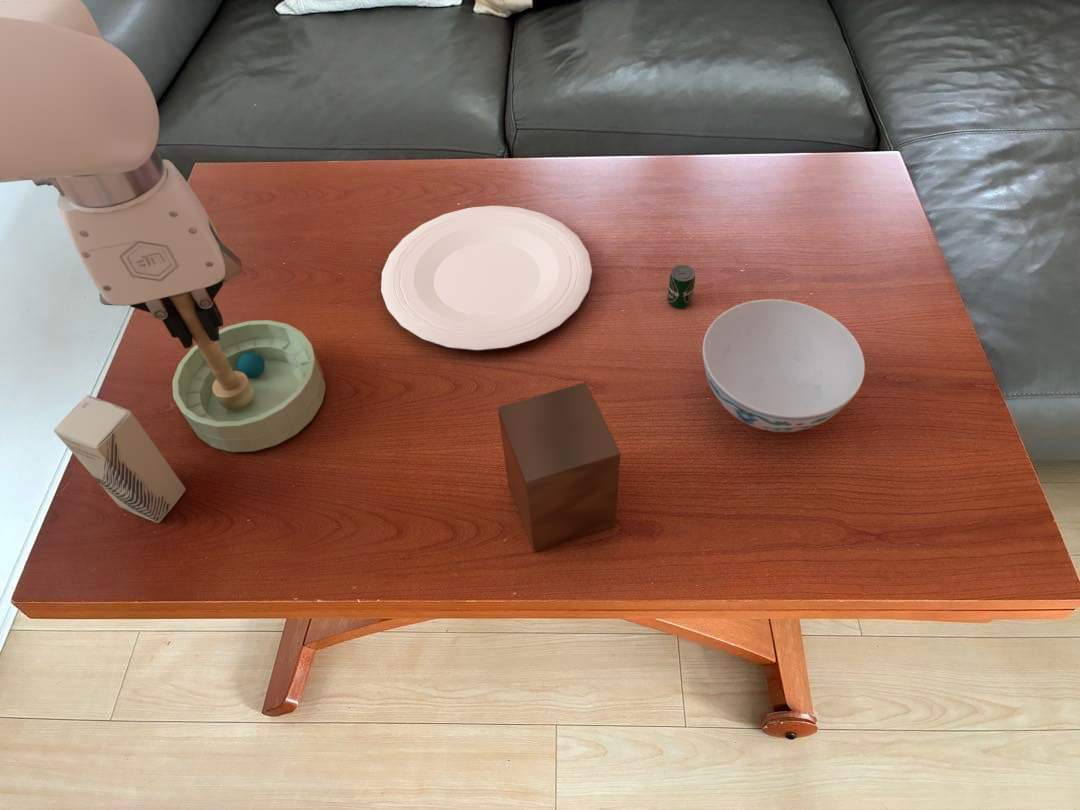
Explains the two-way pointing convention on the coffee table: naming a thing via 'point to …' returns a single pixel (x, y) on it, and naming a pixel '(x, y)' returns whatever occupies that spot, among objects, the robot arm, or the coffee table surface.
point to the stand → (560, 465)
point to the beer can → (681, 286)
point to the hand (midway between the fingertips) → (201, 333)
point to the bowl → (279, 391)
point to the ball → (250, 364)
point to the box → (121, 457)
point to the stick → (214, 358)
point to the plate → (486, 278)
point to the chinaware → (781, 364)
